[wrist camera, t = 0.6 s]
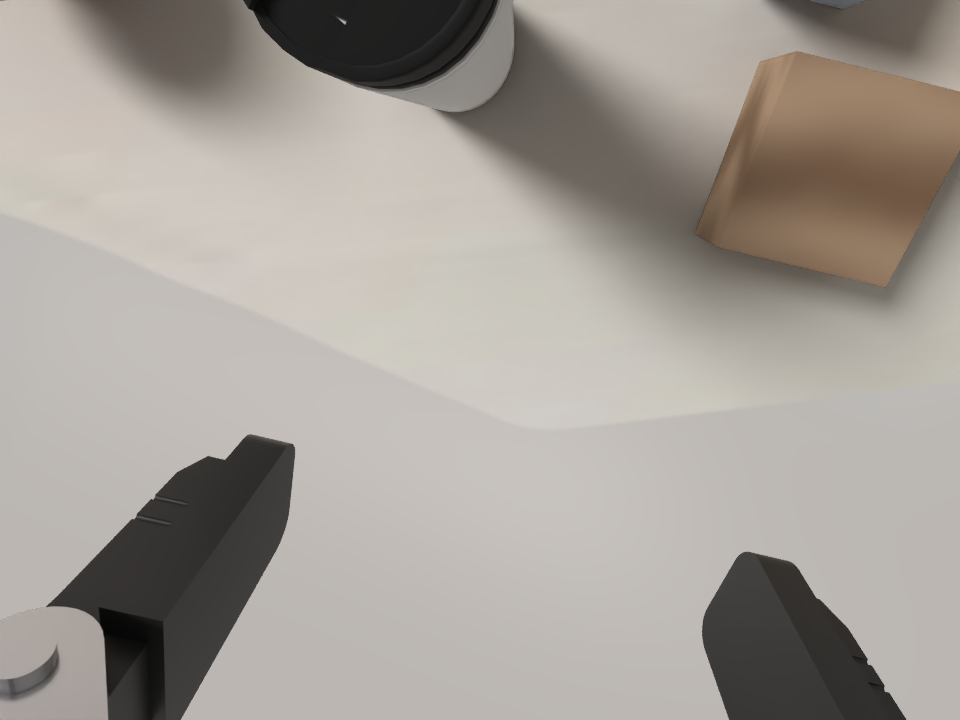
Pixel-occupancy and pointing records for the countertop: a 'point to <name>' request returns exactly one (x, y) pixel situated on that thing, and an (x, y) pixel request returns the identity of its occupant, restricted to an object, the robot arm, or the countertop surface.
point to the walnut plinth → (832, 167)
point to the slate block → (839, 3)
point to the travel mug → (400, 45)
